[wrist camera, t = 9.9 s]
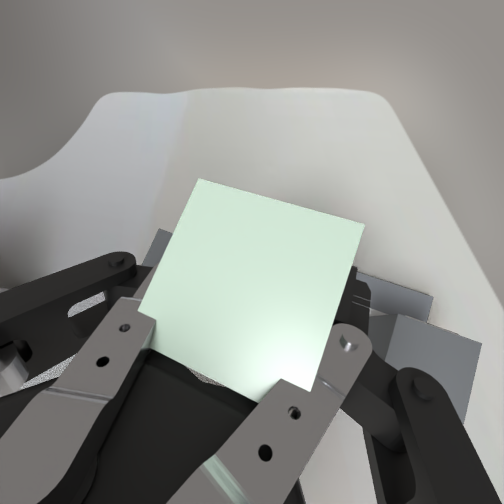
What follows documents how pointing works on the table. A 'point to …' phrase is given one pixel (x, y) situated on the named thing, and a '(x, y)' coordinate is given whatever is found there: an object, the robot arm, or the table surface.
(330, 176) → the table surface
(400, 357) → the rail board
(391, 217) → the table surface
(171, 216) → the table surface
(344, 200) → the table surface
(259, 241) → the block
